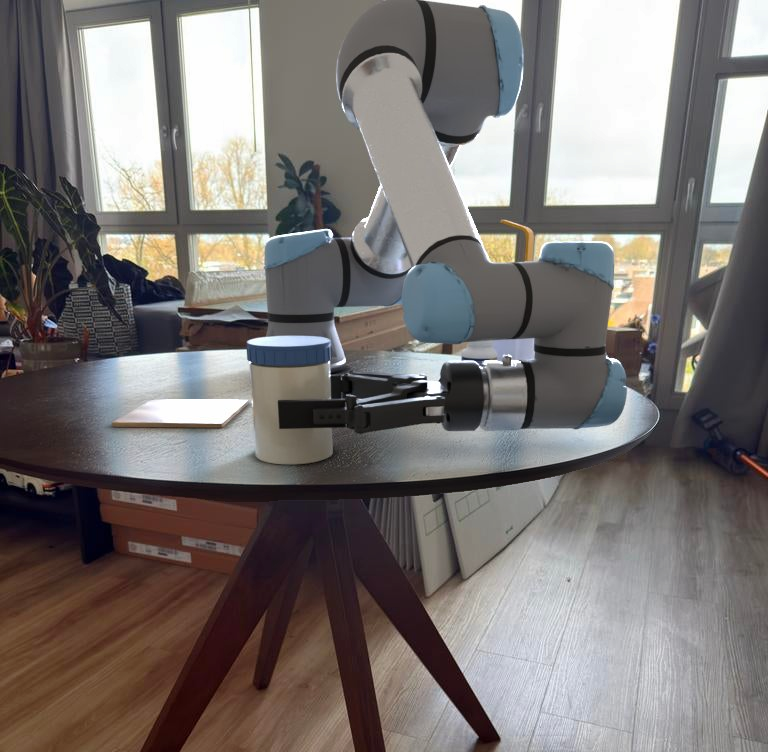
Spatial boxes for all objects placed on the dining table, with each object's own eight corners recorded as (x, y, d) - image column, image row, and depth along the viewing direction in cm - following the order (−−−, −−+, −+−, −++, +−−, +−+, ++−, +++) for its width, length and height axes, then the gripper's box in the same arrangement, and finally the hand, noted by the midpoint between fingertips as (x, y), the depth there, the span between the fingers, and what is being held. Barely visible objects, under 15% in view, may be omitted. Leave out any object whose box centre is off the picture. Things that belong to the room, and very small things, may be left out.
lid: (260, 352, 80) (259, 335, 79) (338, 353, 79) (337, 335, 78) (236, 365, 72) (235, 346, 71) (323, 366, 71) (322, 346, 70)
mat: (152, 403, 104) (151, 399, 103) (248, 404, 103) (248, 399, 103) (112, 426, 90) (111, 422, 90) (222, 428, 90) (221, 423, 89)
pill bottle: (494, 398, 105) (497, 336, 102) (458, 397, 106) (460, 336, 103) (496, 391, 110) (499, 332, 107) (462, 390, 111) (464, 331, 108)
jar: (264, 442, 83) (258, 340, 79) (337, 443, 82) (334, 340, 78) (247, 464, 75) (239, 351, 71) (327, 465, 75) (323, 351, 71)
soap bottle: (484, 376, 123) (491, 220, 114) (537, 379, 120) (549, 220, 111) (470, 385, 115) (476, 219, 106) (527, 389, 112) (538, 218, 103)
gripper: (459, 345, 89) (284, 347, 87) (509, 382, 65) (272, 387, 64) (457, 405, 91) (288, 409, 90) (504, 462, 68) (277, 468, 66)
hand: (281, 400), depth 77 cm, fingers open, 13 cm apart
